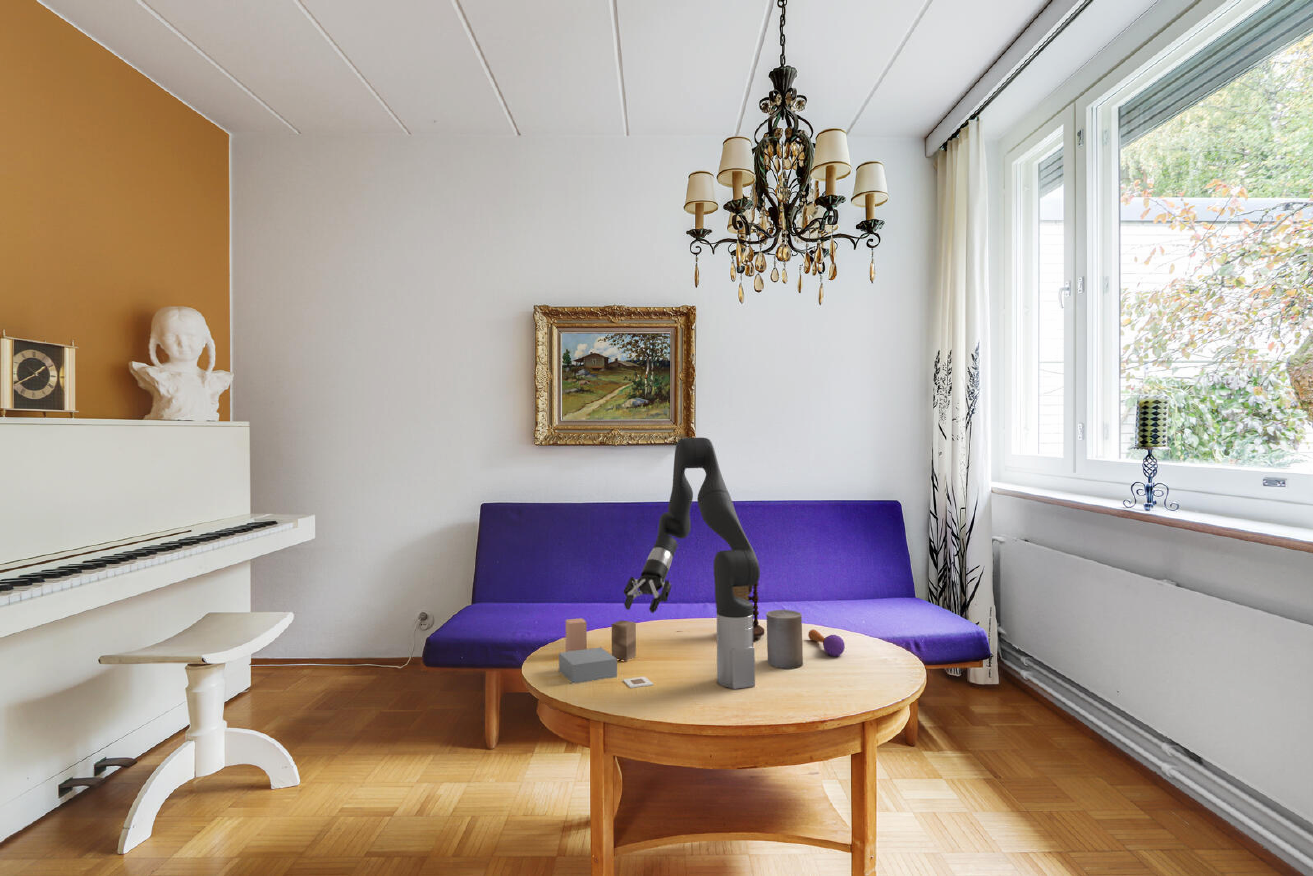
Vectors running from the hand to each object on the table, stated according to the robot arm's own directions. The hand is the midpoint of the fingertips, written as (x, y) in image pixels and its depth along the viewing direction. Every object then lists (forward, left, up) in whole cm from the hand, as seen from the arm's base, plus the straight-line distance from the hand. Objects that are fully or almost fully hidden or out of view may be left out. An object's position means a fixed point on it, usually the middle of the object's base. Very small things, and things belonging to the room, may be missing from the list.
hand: (638, 609), depth 192 cm
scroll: (+3, -36, -12) cm, 38 cm away
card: (-26, +9, -12) cm, 31 cm away
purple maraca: (-18, -53, -13) cm, 57 cm away
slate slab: (-14, +19, -12) cm, 27 cm away
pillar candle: (-26, -34, -12) cm, 44 cm away
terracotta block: (+3, +18, -12) cm, 22 cm away
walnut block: (-5, +6, -12) cm, 15 cm away
